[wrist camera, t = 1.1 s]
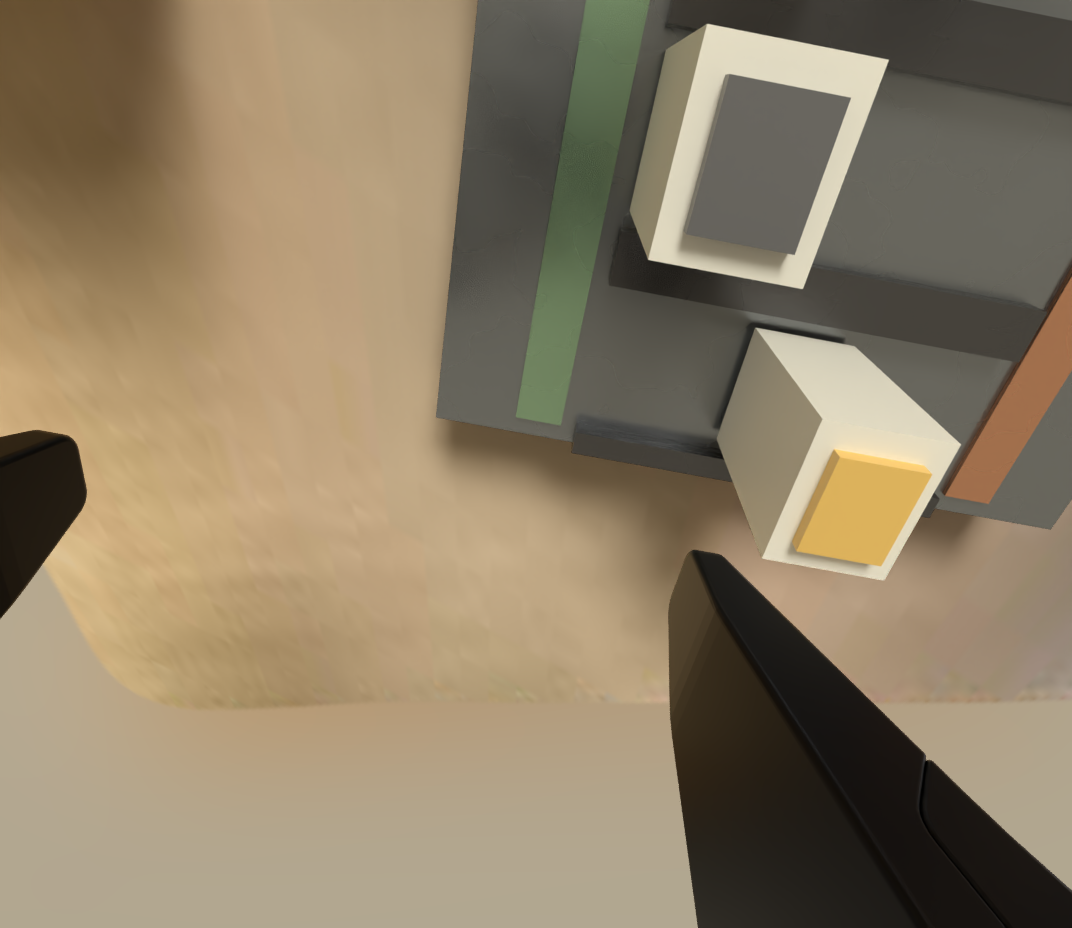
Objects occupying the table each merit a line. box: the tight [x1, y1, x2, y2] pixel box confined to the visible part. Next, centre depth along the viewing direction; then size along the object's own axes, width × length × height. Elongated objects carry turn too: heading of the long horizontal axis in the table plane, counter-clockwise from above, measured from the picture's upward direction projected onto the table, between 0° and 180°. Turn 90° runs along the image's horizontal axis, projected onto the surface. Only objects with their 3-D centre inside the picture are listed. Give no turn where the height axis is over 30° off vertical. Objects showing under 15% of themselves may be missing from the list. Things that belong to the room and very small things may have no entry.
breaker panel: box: [436, 0, 1072, 530], centre depth 15 cm, size 17×15×3 cm
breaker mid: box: [630, 24, 889, 289], centre depth 11 cm, size 2×3×5 cm
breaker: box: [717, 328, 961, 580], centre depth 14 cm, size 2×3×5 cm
